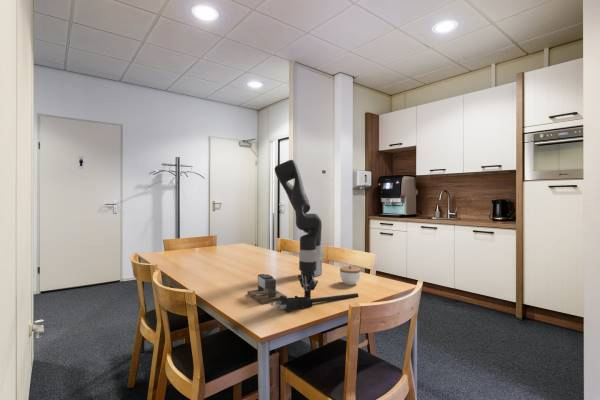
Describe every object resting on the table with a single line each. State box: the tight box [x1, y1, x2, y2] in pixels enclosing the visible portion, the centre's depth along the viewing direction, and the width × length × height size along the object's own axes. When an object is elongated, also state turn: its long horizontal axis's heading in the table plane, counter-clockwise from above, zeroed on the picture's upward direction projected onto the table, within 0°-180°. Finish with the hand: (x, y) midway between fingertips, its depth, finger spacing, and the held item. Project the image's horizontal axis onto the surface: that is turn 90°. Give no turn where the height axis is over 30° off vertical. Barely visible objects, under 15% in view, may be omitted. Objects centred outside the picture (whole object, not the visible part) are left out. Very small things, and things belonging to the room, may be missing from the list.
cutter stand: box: [247, 273, 288, 305], centre depth 144 cm, size 16×12×9 cm
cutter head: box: [257, 273, 276, 294], centre depth 144 cm, size 7×5×8 cm
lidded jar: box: [339, 265, 362, 286], centre depth 167 cm, size 11×11×9 cm
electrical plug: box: [270, 292, 359, 313], centre depth 136 cm, size 9×42×5 cm, turn 117°
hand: (307, 298), depth 139 cm, fingers closed
